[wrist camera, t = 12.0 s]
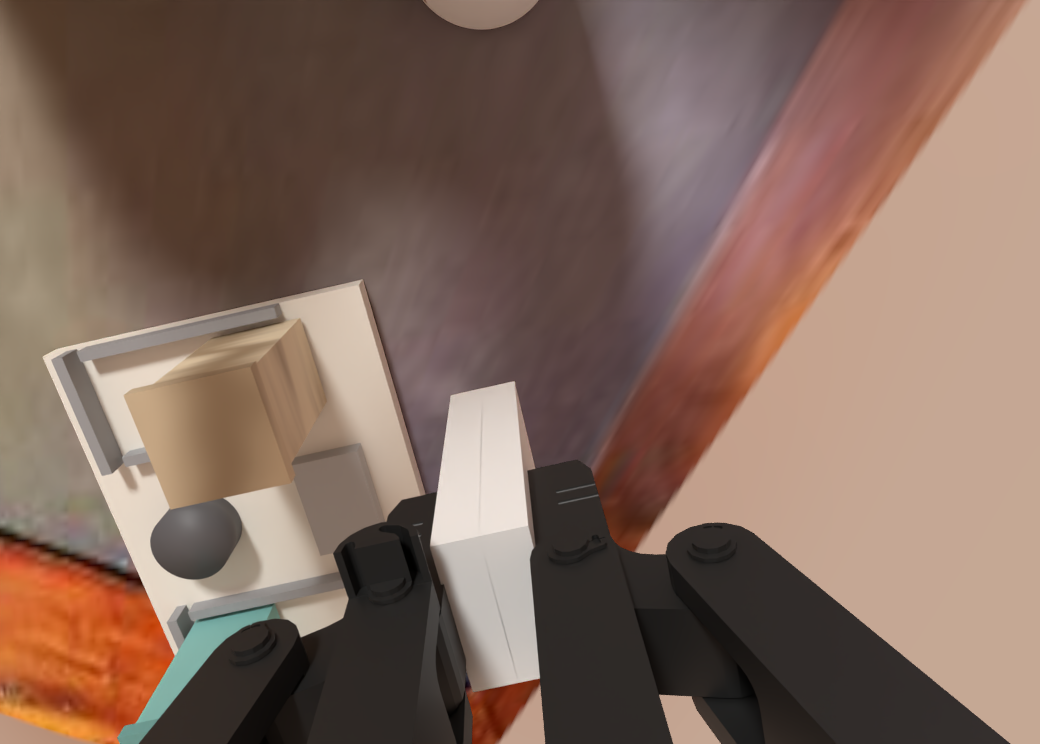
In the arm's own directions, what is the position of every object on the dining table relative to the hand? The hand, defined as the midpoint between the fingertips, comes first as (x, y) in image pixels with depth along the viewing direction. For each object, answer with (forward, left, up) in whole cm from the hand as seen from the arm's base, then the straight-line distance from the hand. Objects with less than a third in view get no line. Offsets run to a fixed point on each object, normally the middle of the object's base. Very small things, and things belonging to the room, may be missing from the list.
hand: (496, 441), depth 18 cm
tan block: (-9, -10, -25) cm, 28 cm away
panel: (-7, -19, -26) cm, 33 cm away
